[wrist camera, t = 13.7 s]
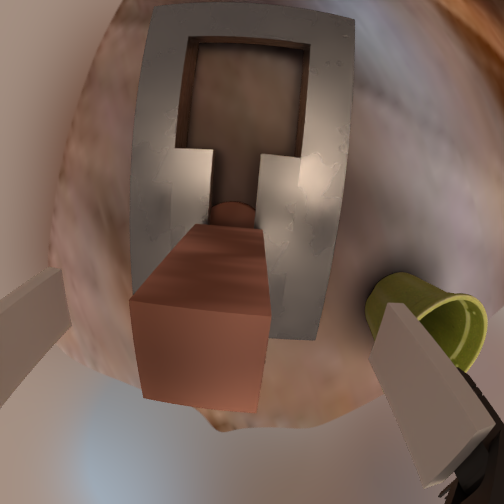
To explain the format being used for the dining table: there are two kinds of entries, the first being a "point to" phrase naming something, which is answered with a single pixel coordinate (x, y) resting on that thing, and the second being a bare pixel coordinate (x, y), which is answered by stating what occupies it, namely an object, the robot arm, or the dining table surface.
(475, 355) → the plant pot
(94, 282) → the dining table surface
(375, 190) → the dining table surface
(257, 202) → the slot bracket
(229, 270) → the peg
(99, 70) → the dining table surface
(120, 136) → the dining table surface
